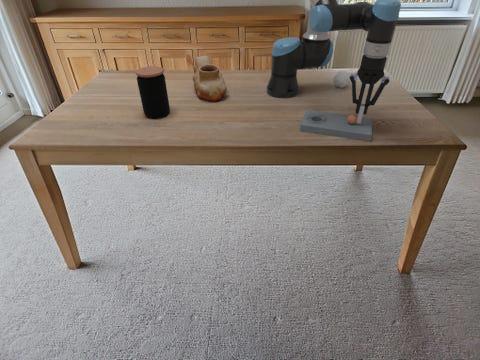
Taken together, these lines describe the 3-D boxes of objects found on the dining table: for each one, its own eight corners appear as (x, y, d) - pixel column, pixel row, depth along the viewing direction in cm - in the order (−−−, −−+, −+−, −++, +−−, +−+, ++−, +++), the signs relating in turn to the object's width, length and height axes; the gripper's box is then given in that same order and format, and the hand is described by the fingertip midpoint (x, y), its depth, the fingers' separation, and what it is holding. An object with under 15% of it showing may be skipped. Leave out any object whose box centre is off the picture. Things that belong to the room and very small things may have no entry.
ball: (353, 127, 113) (345, 123, 113) (354, 122, 115) (345, 119, 116) (358, 119, 111) (349, 115, 111) (358, 115, 113) (350, 111, 113)
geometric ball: (335, 92, 152) (327, 79, 150) (344, 83, 155) (337, 69, 152) (346, 89, 145) (338, 75, 143) (356, 79, 148) (348, 65, 145)
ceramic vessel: (216, 81, 159) (214, 51, 150) (231, 100, 139) (230, 67, 130) (189, 85, 155) (186, 54, 146) (201, 104, 135) (198, 70, 126)
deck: (299, 130, 115) (300, 124, 114) (306, 115, 126) (306, 109, 124) (369, 141, 108) (371, 135, 107) (370, 124, 119) (372, 118, 117)
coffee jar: (175, 110, 131) (168, 67, 120) (162, 121, 123) (154, 76, 112) (153, 107, 134) (145, 65, 123) (139, 117, 126) (129, 73, 115)
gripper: (353, 56, 98) (339, 123, 112) (397, 60, 94) (377, 128, 109) (354, 50, 103) (341, 115, 118) (396, 53, 100) (377, 119, 114)
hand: (358, 121), depth 113 cm, fingers closed
